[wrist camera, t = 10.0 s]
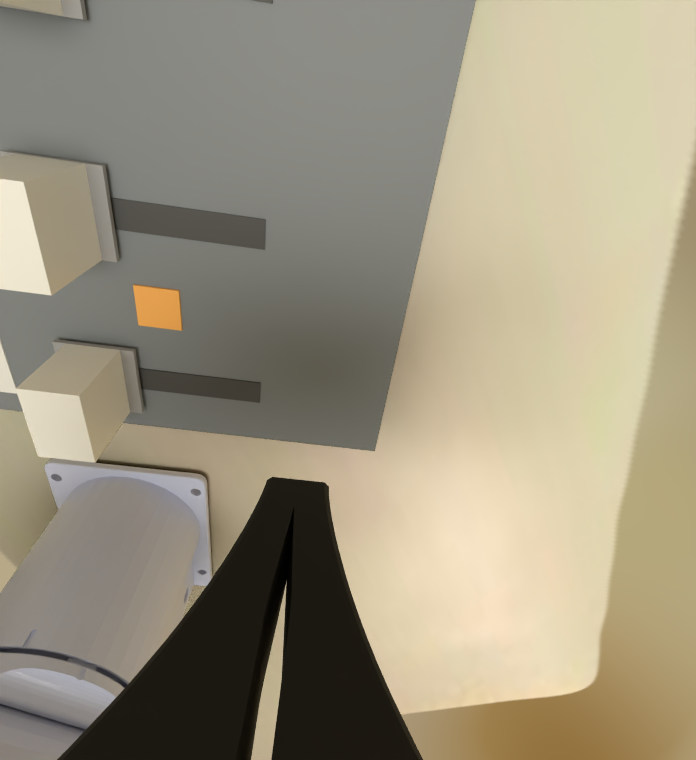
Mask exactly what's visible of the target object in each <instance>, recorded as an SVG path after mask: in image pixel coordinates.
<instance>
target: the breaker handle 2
mask: <svg viewBox="0 0 696 760" xmlns="http://www.w3.org/2000/svg"><path fill="white" fill-rule="evenodd" d="M52 343H53V347H54V351H55V353H54V354H53V355H52V356H51V357H50V358H49V359H48V360H47V361H46V362H44V363H43V364H42V365H41V366H40V367H39V368H38V369H37V370H35V371H34V372H33V373H32V374H31V375H30V376H29V377H28V378H27V379H25V380H24V381H23V382H22V383H21V384H20V385H19V386H18V387H17V388H15V389H16V392H17V395H18V398H19V401H20V404H21V407H22V410H23V413H24V416H25V419H26V422H27V425H28V428H29V431H30V434H31V437H32V440H33V443H34V446H35V449H36V451H37V454H38V457H46V458H56V459H65V460H74V461H84V462H93V463H95V462H96V461H97V460H98V458H99V457H100V455H101V454H102V452H103V451H104V449H105V448H106V446H107V445H108V444H109V442H110V441H111V439H112V438H113V436H114V435H115V433H116V432H117V431H118V429H119V428H120V426H121V425H122V423H123V422H124V420H125V419H126V417H127V416H128V415H129V413H130V412H135V413H143V412H144V405H143V398H142V391H141V384H140V377H139V371H138V364H137V357H136V350H135V349H131V348H123V347H115V346H106V345H98V344H90V343H82V342H74V341H65V340H57V339H55V340H54V341H52Z"/></svg>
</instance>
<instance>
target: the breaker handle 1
mask: <svg viewBox="0 0 696 760" xmlns="http://www.w3.org/2000/svg"><path fill="white" fill-rule="evenodd" d="M0 6H1V7H8V8H14V9H20V10H26V11H32V12H38V13H44V14H50V15H57V16H63V17H69V18H75V19H81V20H87V17H86V10H85V4H84V0H0Z"/></svg>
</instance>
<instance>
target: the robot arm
mask: <svg viewBox="0 0 696 760" xmlns="http://www.w3.org/2000/svg"><path fill="white" fill-rule="evenodd" d="M44 469H45V472H46V475H47V478H48V481H49V484H50V487H51V490H52V493H53V496H54V499H55V502H56V505H57V508H58V511H57V513H56V514H55V516H54V517H53V518H52V520H51V521H50V523H49V524H48V526H47V527H46V528H45V530H44V531H43V533H42V534H41V536H40V537H39V538H38V540H37V541H36V543H35V544H34V546H33V547H32V548H31V550H30V551H29V553H28V554H27V556H26V557H25V559H24V560H23V561H22V563H21V564H20V566H19V567H18V569H17V570H16V571H15V573H14V575H13V576H12V577H11V579H10V580H9V581H8V583H7V584H6V586H5V587H4V589H3V590H2V591H1V593H0V760H251V755H252V748H253V742H254V735H255V728H256V722H257V715H258V708H259V702H260V697H261V692H262V687H263V682H264V677H265V673H266V668H267V664H268V659H269V655H270V651H271V646H272V642H273V638H274V633H275V629H276V625H277V620H278V616H279V611H280V607H281V603H282V598H283V594H284V589H285V585H286V581H287V586H286V606H285V626H284V646H283V666H282V683H281V690H280V698H279V706H278V714H277V722H276V729H275V737H274V745H273V753H272V760H423V759H422V757H421V755H420V753H419V751H418V749H417V747H416V745H415V743H414V741H413V739H412V737H411V735H410V733H409V731H408V728H407V726H406V724H405V722H404V720H403V718H402V716H401V714H400V712H399V710H398V708H397V706H396V704H395V702H394V700H393V698H392V695H391V693H390V691H389V689H388V687H387V684H386V682H385V680H384V677H383V675H382V673H381V670H380V668H379V666H378V664H377V661H376V659H375V656H374V654H373V651H372V649H371V646H370V644H369V641H368V639H367V636H366V634H365V631H364V628H363V626H362V623H361V620H360V618H359V615H358V612H357V609H356V606H355V603H354V600H353V597H352V594H351V591H350V588H349V585H348V582H347V578H346V575H345V571H344V568H343V564H342V560H341V557H340V553H339V549H338V545H337V541H336V537H335V532H334V527H333V522H332V517H331V510H330V502H329V487H328V486H327V485H326V484H325V483H323V482H314V481H304V480H295V479H286V478H277V477H272V478H270V479H268V480H267V482H266V485H265V488H264V490H263V492H262V495H261V497H260V499H259V501H258V503H257V505H256V507H255V509H254V511H253V513H252V515H251V517H250V518H249V520H248V522H247V524H246V526H245V528H244V529H243V531H242V532H241V534H240V536H239V537H238V539H237V541H236V542H235V544H234V546H233V547H232V549H231V551H230V552H229V554H228V555H227V557H226V559H225V560H224V562H223V563H222V565H221V566H220V567H219V569H218V570H217V572H216V573H215V575H214V576H213V578H212V562H211V544H210V526H209V508H208V490H207V480H206V478H205V477H204V476H202V475H201V474H196V473H187V472H177V471H168V470H159V469H149V468H140V467H131V466H121V465H112V464H103V463H93V462H84V461H74V460H65V459H50V460H49V461H48V462H47V463H46V465H45V466H44ZM196 489H198V490H196ZM193 585H198V586H206V588H205V589H204V591H203V592H202V594H201V595H200V596H199V598H198V599H197V600H196V602H195V603H194V604H193V606H192V607H191V608H190V610H189V611H188V612H187V614H186V615H185V616H184V613H185V610H186V607H187V604H188V601H189V598H190V595H191V592H192V589H193ZM183 616H184V618H183Z"/></svg>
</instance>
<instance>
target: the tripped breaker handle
mask: <svg viewBox="0 0 696 760" xmlns="http://www.w3.org/2000/svg"><path fill="white" fill-rule="evenodd" d="M102 260H103V261H111V262H118V261H119V253H118V246H117V240H116V233H115V226H114V220H113V213H112V206H111V200H110V193H109V186H108V180H107V173H106V166H105V165H102V164H95V163H89V162H82V161H75V160H68V159H61V158H54V157H47V156H40V155H33V154H27V153H20V152H13V151H6V150H2V151H0V289H4V290H12V291H20V292H28V293H36V294H44V295H53V294H54V293H56V292H57V291H59V290H60V289H62V288H63V287H64V286H66V285H67V284H69V283H70V282H72V281H73V280H74V279H76V278H77V277H79V276H80V275H82V274H83V273H84V272H86V271H87V270H89V269H90V268H92V267H93V266H94V265H96V264H97V263H99V262H100V261H102Z"/></svg>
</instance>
